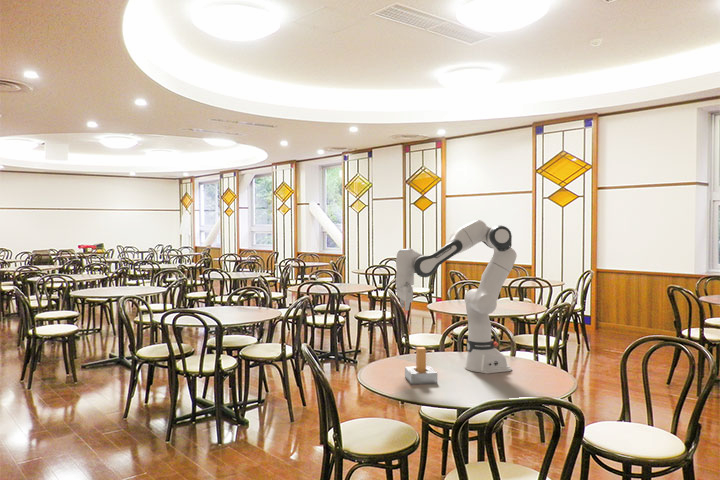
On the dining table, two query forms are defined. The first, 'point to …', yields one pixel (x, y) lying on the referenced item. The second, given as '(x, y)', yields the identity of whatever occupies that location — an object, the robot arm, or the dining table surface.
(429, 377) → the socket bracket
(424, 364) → the rectangular peg
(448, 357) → the dining table surface
